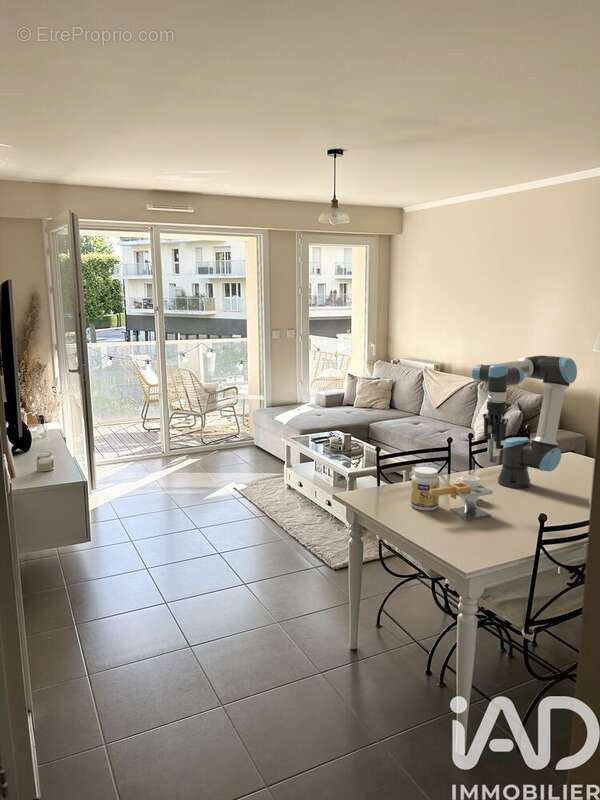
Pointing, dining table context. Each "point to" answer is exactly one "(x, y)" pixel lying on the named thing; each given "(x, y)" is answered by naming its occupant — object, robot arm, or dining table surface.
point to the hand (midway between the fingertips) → (493, 454)
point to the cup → (469, 481)
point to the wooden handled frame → (450, 490)
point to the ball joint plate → (472, 502)
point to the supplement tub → (424, 488)
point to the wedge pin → (492, 443)
